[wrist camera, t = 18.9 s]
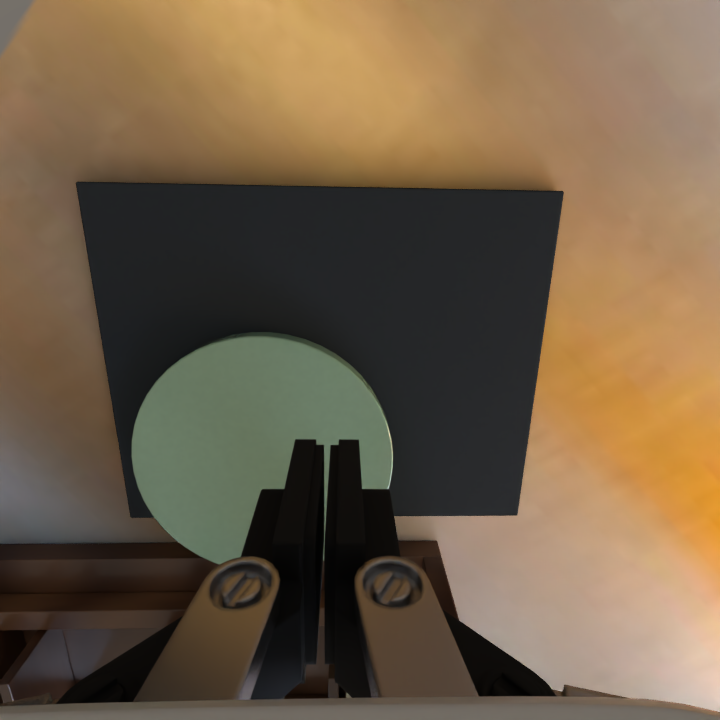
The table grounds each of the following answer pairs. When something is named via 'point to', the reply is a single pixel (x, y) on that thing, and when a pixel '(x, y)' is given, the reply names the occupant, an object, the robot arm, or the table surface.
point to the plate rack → (122, 609)
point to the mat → (343, 309)
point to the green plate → (247, 433)
